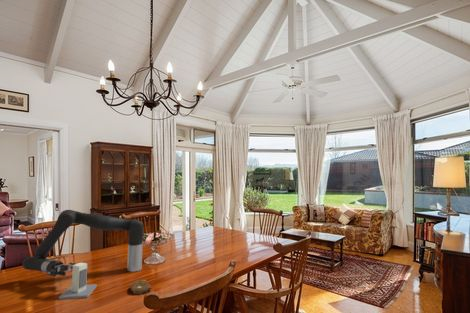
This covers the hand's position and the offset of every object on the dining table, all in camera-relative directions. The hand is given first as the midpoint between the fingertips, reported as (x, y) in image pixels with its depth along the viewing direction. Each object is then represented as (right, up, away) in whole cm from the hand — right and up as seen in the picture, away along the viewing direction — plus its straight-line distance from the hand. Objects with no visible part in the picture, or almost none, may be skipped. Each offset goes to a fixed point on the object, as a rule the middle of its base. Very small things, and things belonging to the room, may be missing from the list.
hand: (72, 271), depth 149 cm
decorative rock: (+37, -12, +3) cm, 39 cm away
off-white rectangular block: (+5, -10, -3) cm, 11 cm away
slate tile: (+5, -11, -3) cm, 12 cm away
